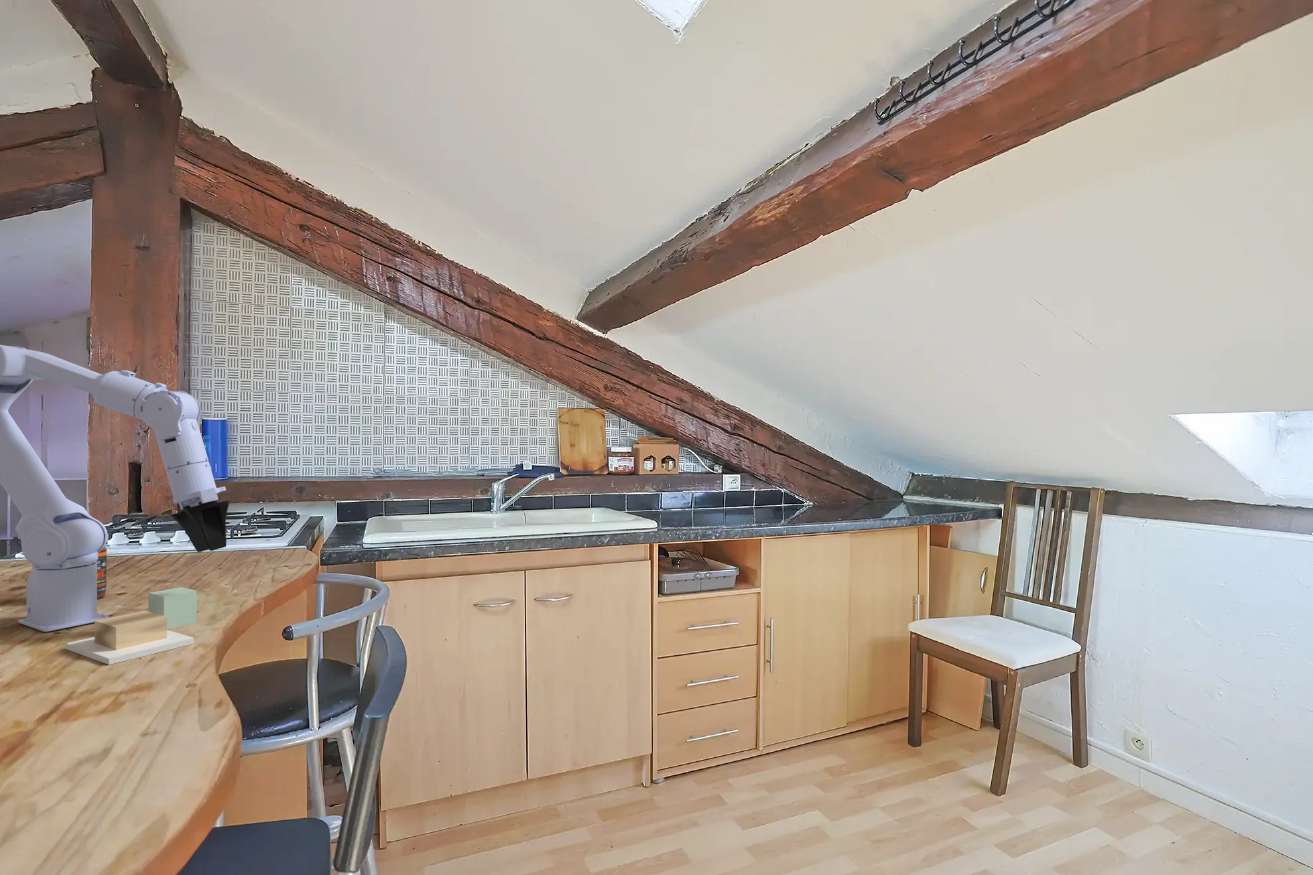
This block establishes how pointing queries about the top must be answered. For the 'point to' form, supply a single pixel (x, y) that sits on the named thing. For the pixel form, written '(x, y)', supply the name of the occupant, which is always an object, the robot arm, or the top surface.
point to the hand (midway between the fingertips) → (211, 549)
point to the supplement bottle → (101, 573)
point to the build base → (130, 651)
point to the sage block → (175, 606)
